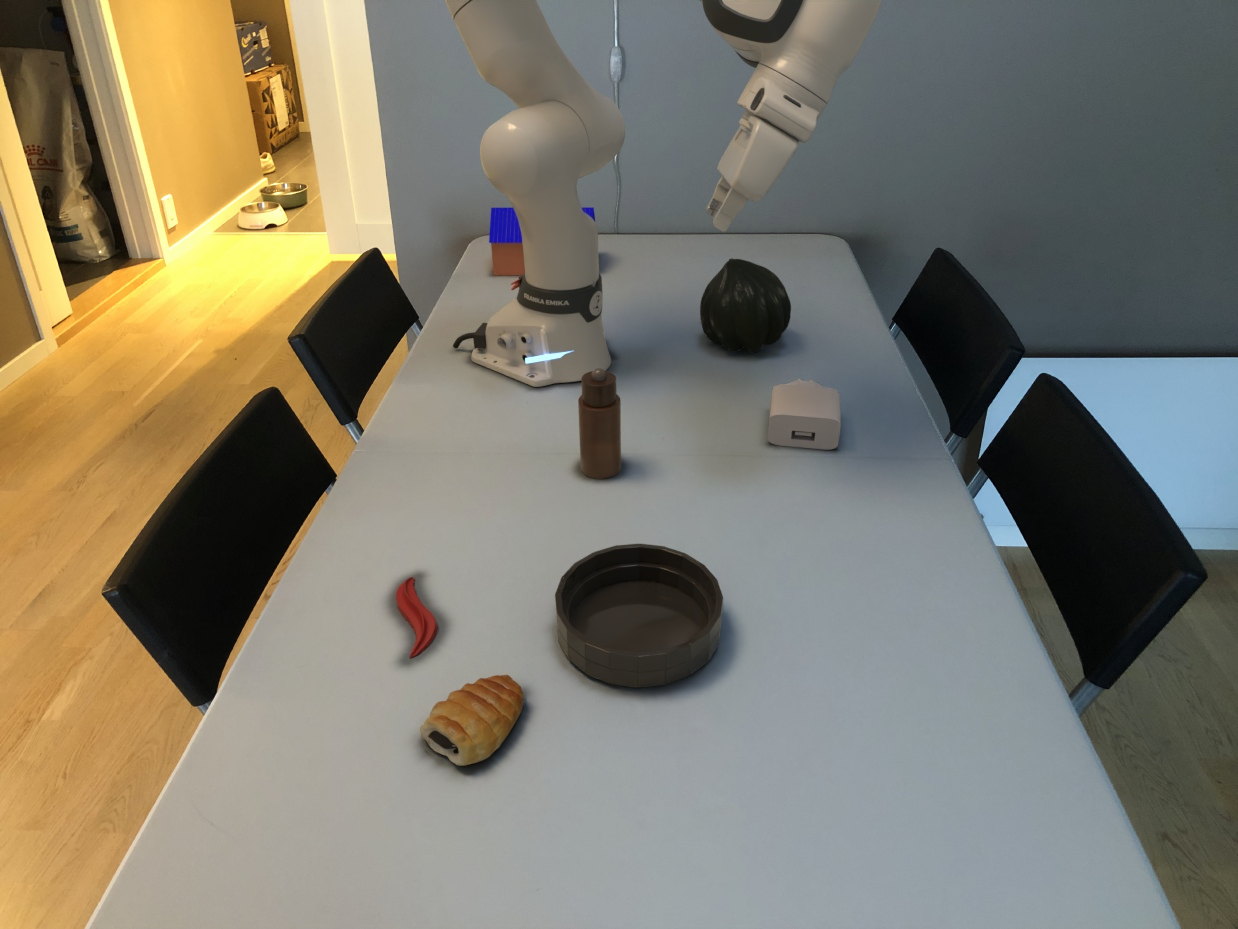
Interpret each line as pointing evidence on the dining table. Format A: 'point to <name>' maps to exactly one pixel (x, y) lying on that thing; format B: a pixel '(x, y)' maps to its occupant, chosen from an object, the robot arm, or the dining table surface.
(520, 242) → the house
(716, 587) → the pan
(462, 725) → the pastry
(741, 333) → the squash
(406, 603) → the cayenne pepper
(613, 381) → the pepper mill
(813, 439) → the charger
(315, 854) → the dining table surface
